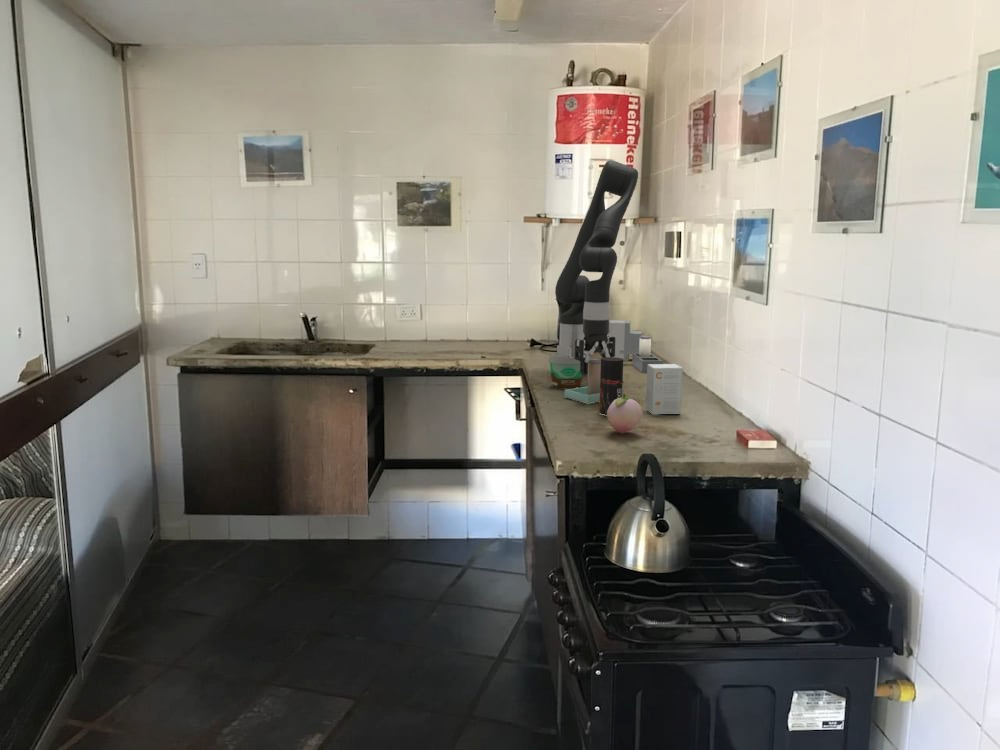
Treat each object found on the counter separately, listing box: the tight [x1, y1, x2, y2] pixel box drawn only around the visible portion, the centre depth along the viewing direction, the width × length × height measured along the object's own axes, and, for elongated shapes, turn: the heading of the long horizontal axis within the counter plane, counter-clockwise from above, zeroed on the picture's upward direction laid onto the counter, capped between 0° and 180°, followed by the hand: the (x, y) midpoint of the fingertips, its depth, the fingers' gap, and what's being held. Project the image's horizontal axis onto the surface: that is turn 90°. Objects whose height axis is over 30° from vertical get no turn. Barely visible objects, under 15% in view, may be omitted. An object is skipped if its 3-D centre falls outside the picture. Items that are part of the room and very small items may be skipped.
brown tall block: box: [586, 358, 601, 395], centre depth 233 cm, size 4×4×11 cm
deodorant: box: [598, 357, 624, 415], centre depth 214 cm, size 6×6×15 cm
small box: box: [645, 363, 684, 415], centre depth 216 cm, size 8×6×13 cm
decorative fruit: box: [606, 393, 643, 434], centre depth 194 cm, size 9×8×10 cm
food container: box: [547, 355, 583, 389], centre depth 249 cm, size 12×6×10 cm, turn 105°
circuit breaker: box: [607, 319, 643, 362], centre depth 296 cm, size 8×14×15 cm, turn 78°
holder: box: [631, 334, 664, 374], centre depth 278 cm, size 16×7×12 cm, turn 3°
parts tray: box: [564, 386, 624, 403], centre depth 234 cm, size 14×10×2 cm
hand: (594, 373), depth 233 cm, fingers open, 7 cm apart
